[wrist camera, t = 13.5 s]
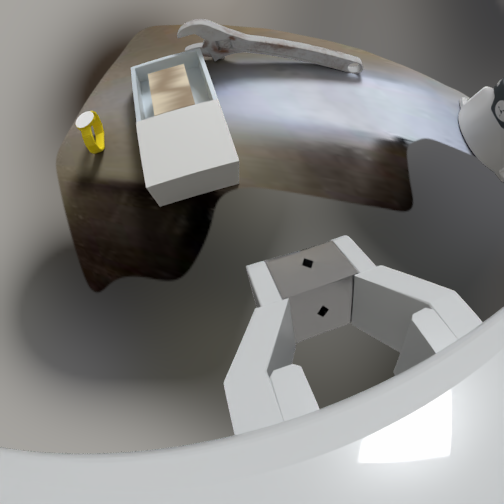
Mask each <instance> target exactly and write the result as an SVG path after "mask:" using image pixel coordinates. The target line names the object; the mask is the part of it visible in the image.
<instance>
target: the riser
mask: <svg viewBox="0 0 504 504" xmlns="http://www.w3.org/2000/svg"><path fill="white" fill-rule="evenodd" d="M136 128H137V135H138V142H139V149H140V155H141V161H142V167H143V173H144V179H145V184H146V188H147V190H148V191H149V193H150V194H151V195H152V197H153V198H154V199H155V201H156V202H157V204H158V205H159V206H160V207H161V206H164V205H167V204H170V203H174V202H177V201H180V200H183V199H187V198H190V197H194V196H197V195H200V194H204V193H207V192H211V191H214V190H218V189H222V188H225V187H229V186H233V185H236V184H239V159H238V156H237V153H236V150H235V147H234V144H233V141H232V138H231V135H230V132H229V129H228V126H227V123H226V120H225V117H224V115H223V112H222V109H221V106H220V103H219V100H218V99H215V100H211V101H207V102H203V103H199V104H195V105H191V106H187V107H184V108H180V109H177V110H173V111H170V112H166V113H163V114H160V115H157V116H154V117H150V118H147V119H144V120H141V121H138V122H136Z"/></svg>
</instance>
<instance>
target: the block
mask: <svg viewBox="0 0 504 504" xmlns="http://www.w3.org/2000/svg"><path fill="white" fill-rule="evenodd" d="M148 79H149V86H150V92H151V98H152V104H153V110H154V116H157V115H160V114H163V113H166V112H170V111H173V110H177V109H180V108H184V107H187V106H191V105H195V102H194V98H193V95H192V91H191V88H190V84H189V80H188V77H187V73H186V70H185V66H184V64H181V65H178V66H174V67H170V68H167V69H163V70H160V71H156V72H153V73H150V74H148Z"/></svg>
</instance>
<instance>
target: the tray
mask: <svg viewBox="0 0 504 504" xmlns="http://www.w3.org/2000/svg"><path fill="white" fill-rule="evenodd" d="M181 64H184V66H185V70H186V73H187V77H188V80H189V84H190V88H191V91H192V95H193V98H194V102H195V104H199V103H203V102H207V101H211V100H215V99H218V98H217V95H216V92H215V89H214V86H213V83H212V80H211V78H210V75H209V72H208V69H207V66H206V63H205V61H204V58H203V55H202V52H201V49H200V48H198V49H194V50H190V51H186V52H181V53H178V54H174V55H170V56H166V57H163V58H159V59H156V60H153V61H149V62H146V63H143V64H140V65H137V66H134V67H131V75H132V86H133V96H134V105H135V113H136V121H137V122H138V121H141V120H144V119H147V118H150V117H154V110H153V104H152V98H151V92H150V86H149V79H148V74H150V73H153V72H156V71H160V70H163V69H167V68H170V67H174V66H178V65H181Z"/></svg>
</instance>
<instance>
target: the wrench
mask: <svg viewBox="0 0 504 504" xmlns="http://www.w3.org/2000/svg"><path fill="white" fill-rule="evenodd" d="M191 34H196V35H198V36H200V37H201V38H203V39H205V40H204V42H203V43H197V44H192V45H190V46H187V47H186V48H185V51H190V50H194V49H198V48H200V49H201V52H202V55H203V56H205V57H213V59H214V61H217V60H218V59H223V58H225V56H227V55H230V54H234V53H241V52H249V53H258V54H266V55H272V56H278V57H284V58H289V59H295V60H299V61H304V62H309V63H314V64H318V65H322V66H326V67H330V68H334V69H338V70H341V71H345V72H349V73H354V74H358V73H360V72H362V70H363V65H362V62H361V60H360V59H359V58H358V57H355V56H352V55H348V54H345V53H341V52H337V51H334V50H330V49H326V48H322V47H317V46H313V45H308V44H304V43H299V42H293V41H288V40H282V39H276V38H269V37H262V36H254V35H247V34H244V33H241V32H238V31H235V30H232V29H229V28H226V27H224V26H221V25H219V24H216V23H214V22H212V21H209V20H204V19H196V20H191V21H189V22H186V23H185V24H183V25H182V26H181V27H180V29H179V31H178V34H177V37H178V38H180V37H184V36H188V35H191ZM352 63H358V64H359V65H358V66H356V67H350V66H349V65H350V64H352Z"/></svg>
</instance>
